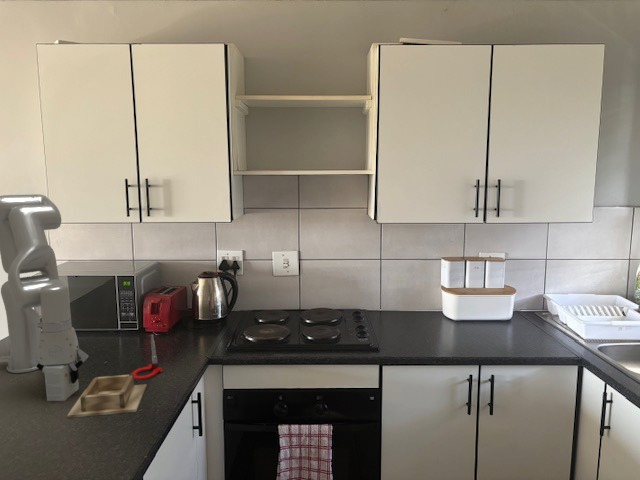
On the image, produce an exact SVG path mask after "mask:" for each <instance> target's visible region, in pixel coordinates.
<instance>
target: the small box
mask: <svg viewBox="0 0 640 480" xmlns="http://www.w3.org/2000/svg"><path fill="white" fill-rule="evenodd" d="M71 371H72V368H71V366H70V365H69V364H61V365H48V366H46V367H45V368H44V373H43V375H44V374H45V379H44V383H45V391H46V401H47V402H66V401H67V400H68V398H70V397H72V396H73V395H74V394H75V393H76V392H77V391H78V390H79V389H80V388H79V387H80V385H79V378H78V379H77V381H76V382H75V383H73V384H72V381H71Z"/></svg>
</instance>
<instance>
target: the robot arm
mask: <svg viewBox="0 0 640 480" xmlns="http://www.w3.org/2000/svg"><path fill="white" fill-rule="evenodd" d="M61 225H62V214H61V212H60V209H59V208H58V207H57V205H55V203H54V202H53V201H52V200H51V199H49V198H48V197H47V196H46V195H44V194H8V195H7V194H6V195H0V260H1V265H2V269H3V271H4V272H5V273H6V274H7V280H6V281H5V282H4V283H2V285H1V287H0V295H1V299H2V301H3V305H4V309H5V310H4V311H5V313H6V314H5V315H6V322H7V323H6V324H7V331H8V333H7V334H8V342H9V349H10V354H9V355H0V364H7V365H6V371H7V372H9V373H12V374H23V373H24V374H25V373H29V372H33V371H38V370H40V371H41V372H42V374H43V376H44V377H43V378H44V380H45V374H44V368H45V367H46V366H48V365H61V364H69V365H70V366H71V368H72V371H71V381H72V384H73V383H75V382H76V381H77V379H78V380H79V379H80V376H79V375H80V373H79V368H80V367H81V366H82V365H83V363H85V361H86V360H87V359H89V354H87V353H86V352H85V351H83V350H82V349H81V348H80V345H79V341H78V336H77V333H76V330H75V328H74V327H73V326H72V315H71V303H70V302H71V301H70V291H69V287H68V286H67V285H66V284H65V283H64V282H63V281H62V280H60V278H59V271H58V264H57V258H56V254H55V251H54V249H53V248H52V246H50V245H49V243H48V240H47V237H46V233H45V231H49V230H56V229H59V228H60V227H61ZM36 272H40V273H41V274H39V275H32V276H31V275H30V276H29V275H28V276H24V277H20V275H21V274H28V273H36ZM37 307H40V313H41V318H40V314H39V313H38V312H37V310H36V309H34V308H37ZM79 357H80V359H79V360H77V359H78V358H79Z"/></svg>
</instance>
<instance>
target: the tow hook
mask: <svg viewBox="0 0 640 480" xmlns="http://www.w3.org/2000/svg"><path fill="white" fill-rule="evenodd" d="M155 343H156V342H155V340H154V334H150V346H151V362H152V363H150V364H148V365H147V366H143V367H139V368H137V369H134V370H133V371H132V372H131V373H130V374H134V381H135V380H136V381H142V380H143V381H144V380H148V379H151V378H153V377H155V376H156V375H157V374H159V373H163V371H164V369H163V368H162V367H160V364H159V362H158V355H157V354H156V353H157V351H156V345H155ZM145 371H152V372H151V373H149V374H146V375H138V374H139V373H141V372H145Z"/></svg>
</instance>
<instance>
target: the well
mask: <svg viewBox="0 0 640 480" xmlns="http://www.w3.org/2000/svg"><path fill="white" fill-rule="evenodd" d="M146 389H147V384H146V383H145V384H143V383H142V384H135V379H134V374H131V373H130V374H121V375H108V376H107V375H105V376H95V377H93V379H92V380H91V382H90V383H89V385H88V386H87V388H86V389H85V390H84V391H83V392H82V394H81V395H80V396H79V398H78V399H77V401H76V402H75V403H74V405H73V406H72V408H71V409H70V411H69V412H68V414H67V415H66V417H67V419H74V418H75V419H76V418H84V417H95V416H104V415H107V416H108V415H117V414H127V413H128V414H129V413H136V412H137V411H138V408H139V406H140V403H141V401H142V399H143V397H144V393H145V392H146Z"/></svg>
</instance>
